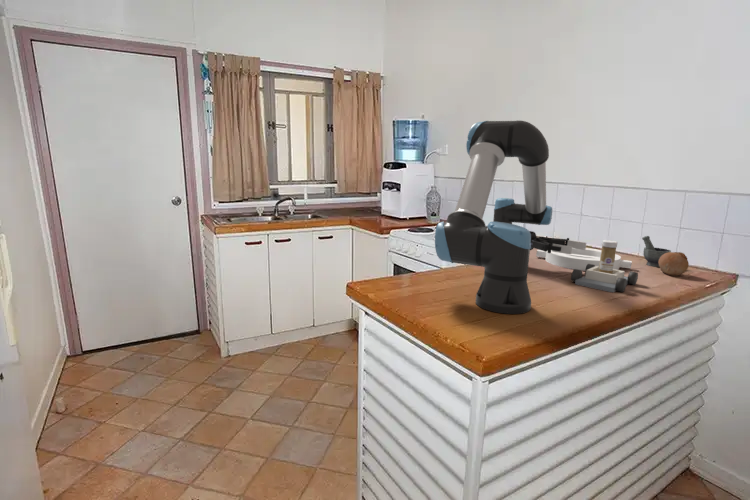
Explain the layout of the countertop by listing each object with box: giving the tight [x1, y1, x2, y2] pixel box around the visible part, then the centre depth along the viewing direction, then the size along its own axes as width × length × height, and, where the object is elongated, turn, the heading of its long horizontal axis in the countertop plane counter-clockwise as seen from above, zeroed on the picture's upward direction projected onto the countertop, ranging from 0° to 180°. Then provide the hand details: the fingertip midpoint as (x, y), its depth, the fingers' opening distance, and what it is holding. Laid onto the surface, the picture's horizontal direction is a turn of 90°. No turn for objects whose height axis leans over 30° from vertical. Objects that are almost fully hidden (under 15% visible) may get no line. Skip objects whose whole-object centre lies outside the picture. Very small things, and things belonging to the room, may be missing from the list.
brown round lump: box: [658, 251, 690, 277], centre depth 160 cm, size 10×9×10 cm
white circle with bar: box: [535, 247, 633, 272], centre depth 175 cm, size 28×28×5 cm
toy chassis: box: [570, 264, 639, 293], centre depth 145 cm, size 20×16×4 cm
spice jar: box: [599, 239, 618, 274], centre depth 144 cm, size 5×5×13 cm
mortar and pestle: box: [641, 235, 672, 268], centre depth 175 cm, size 11×9×12 cm
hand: (578, 248), depth 150 cm, fingers open, 13 cm apart
